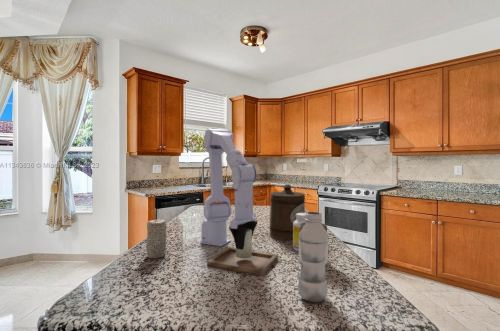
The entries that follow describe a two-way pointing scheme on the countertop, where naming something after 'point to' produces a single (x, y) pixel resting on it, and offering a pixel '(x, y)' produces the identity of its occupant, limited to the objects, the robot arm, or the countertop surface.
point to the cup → (246, 246)
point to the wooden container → (285, 212)
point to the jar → (300, 247)
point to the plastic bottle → (313, 259)
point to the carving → (156, 238)
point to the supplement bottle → (297, 229)
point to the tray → (243, 262)
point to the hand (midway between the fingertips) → (243, 246)
